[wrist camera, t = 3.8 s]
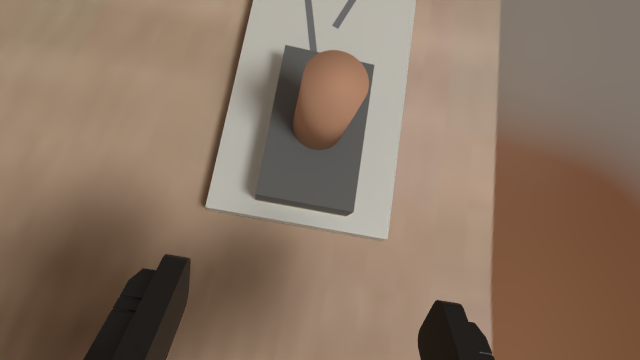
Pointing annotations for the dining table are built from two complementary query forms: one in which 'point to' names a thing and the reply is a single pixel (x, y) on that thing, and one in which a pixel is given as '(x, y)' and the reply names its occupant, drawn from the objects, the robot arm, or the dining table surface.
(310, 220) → the marked board
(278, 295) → the dining table surface
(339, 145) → the sanding block
